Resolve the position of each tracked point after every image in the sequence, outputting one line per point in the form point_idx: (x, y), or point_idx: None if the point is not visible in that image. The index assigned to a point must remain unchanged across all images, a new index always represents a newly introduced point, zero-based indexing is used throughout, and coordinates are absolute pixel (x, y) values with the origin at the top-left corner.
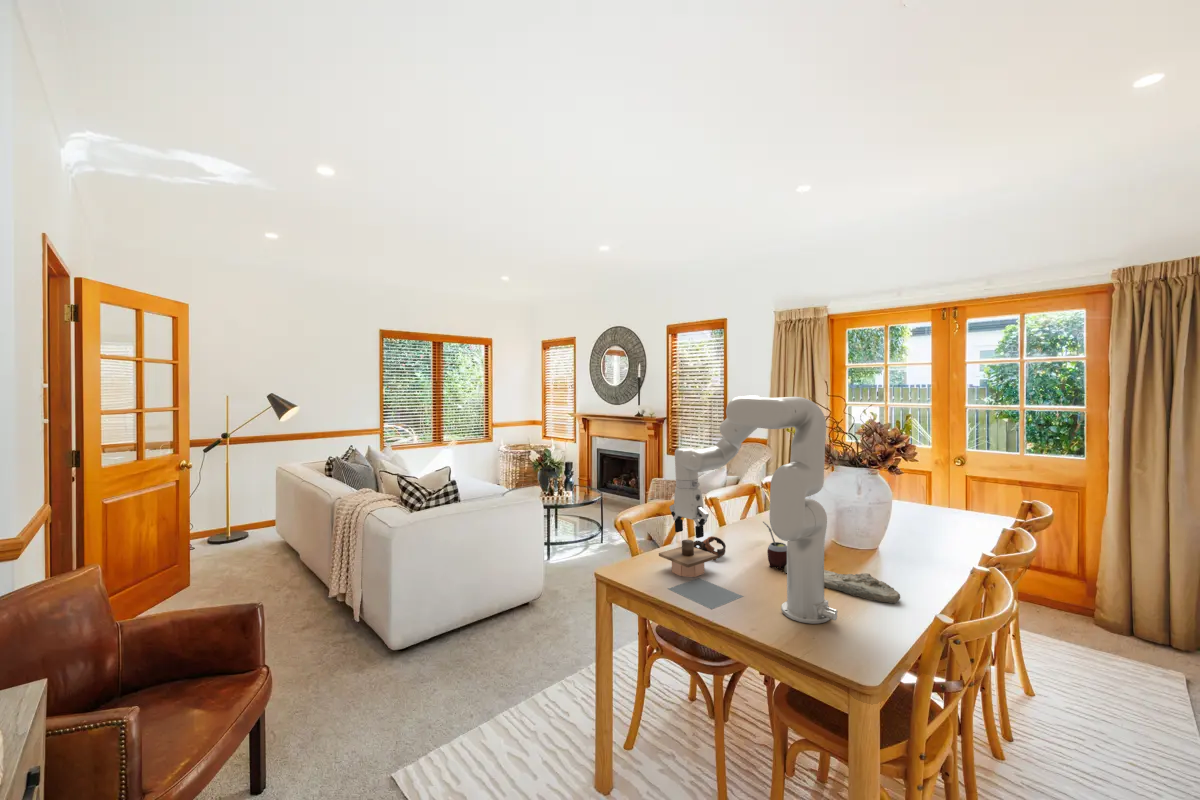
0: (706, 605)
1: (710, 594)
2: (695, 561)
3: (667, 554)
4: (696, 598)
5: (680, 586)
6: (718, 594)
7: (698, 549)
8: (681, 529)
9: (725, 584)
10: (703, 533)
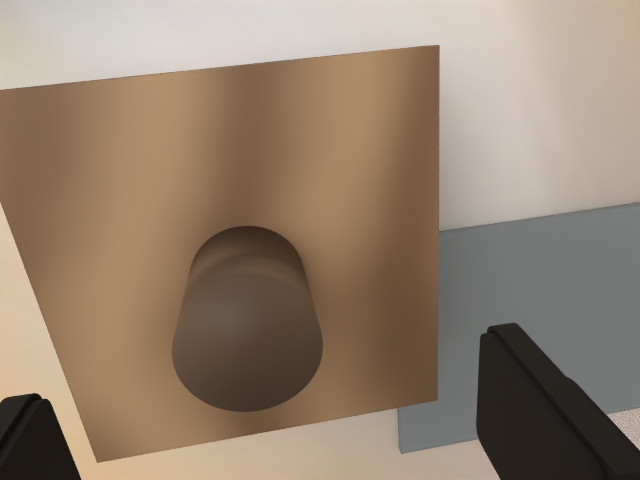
0: (638, 400)
1: (585, 323)
2: (425, 323)
3: (163, 422)
4: None
5: None
6: (614, 290)
7: (176, 94)
8: (45, 440)
9: (548, 150)
10: (535, 346)
